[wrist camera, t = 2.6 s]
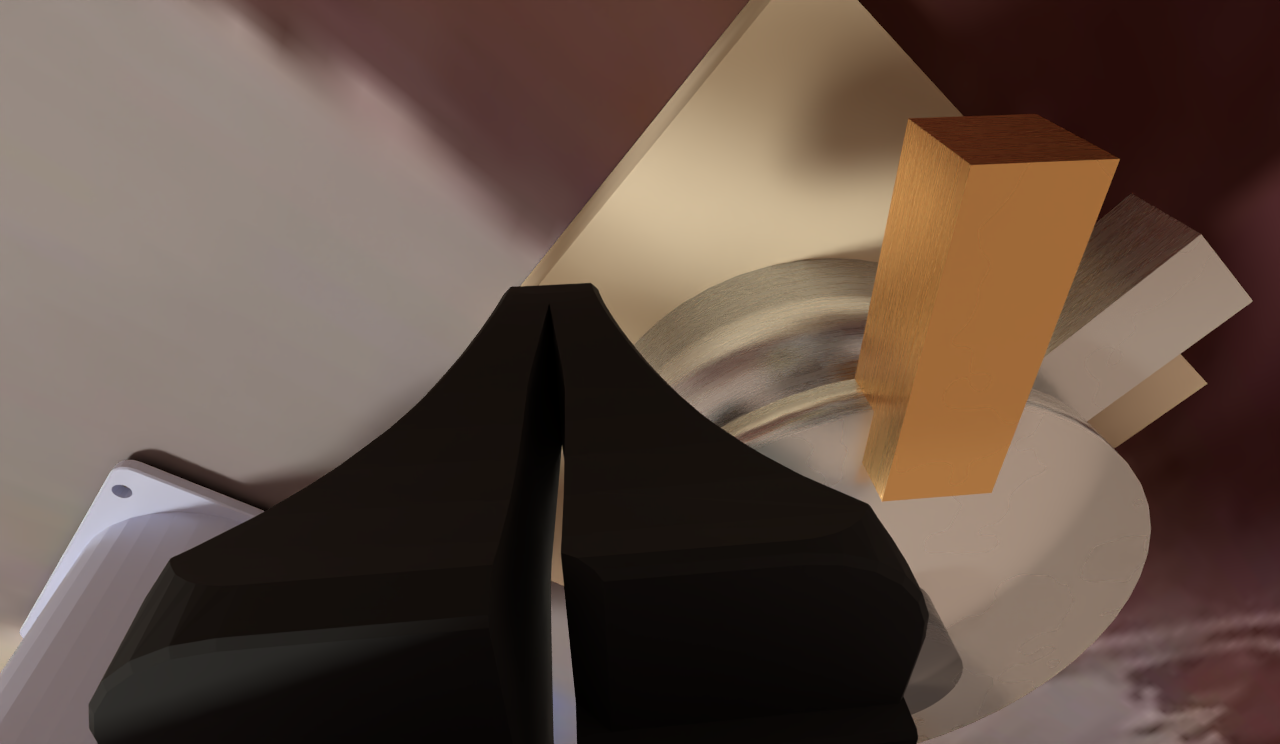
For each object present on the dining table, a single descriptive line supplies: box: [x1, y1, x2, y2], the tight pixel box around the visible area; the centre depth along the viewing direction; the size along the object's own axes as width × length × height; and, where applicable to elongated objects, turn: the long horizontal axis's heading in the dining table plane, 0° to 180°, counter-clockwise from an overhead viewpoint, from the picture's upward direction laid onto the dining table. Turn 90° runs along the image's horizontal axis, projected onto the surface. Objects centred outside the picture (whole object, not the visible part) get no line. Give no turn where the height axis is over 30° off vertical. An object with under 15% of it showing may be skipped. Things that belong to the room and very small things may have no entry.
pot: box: [634, 193, 1252, 427], centre depth 19 cm, size 16×12×5 cm
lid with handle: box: [721, 114, 1151, 744], centre depth 15 cm, size 17×13×2 cm
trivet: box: [521, 0, 1207, 586], centre depth 22 cm, size 18×18×1 cm
